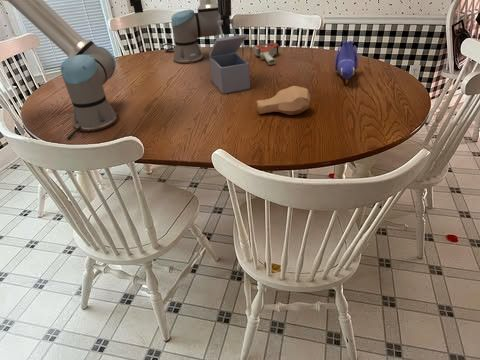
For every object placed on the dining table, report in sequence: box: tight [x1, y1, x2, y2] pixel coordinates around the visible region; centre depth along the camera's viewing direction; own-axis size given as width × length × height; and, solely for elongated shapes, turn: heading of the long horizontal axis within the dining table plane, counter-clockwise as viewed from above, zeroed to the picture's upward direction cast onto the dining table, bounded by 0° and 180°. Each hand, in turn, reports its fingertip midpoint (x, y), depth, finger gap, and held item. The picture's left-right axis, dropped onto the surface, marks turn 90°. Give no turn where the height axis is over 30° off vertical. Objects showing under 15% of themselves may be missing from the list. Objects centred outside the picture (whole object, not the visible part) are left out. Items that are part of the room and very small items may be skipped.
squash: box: [255, 85, 312, 116], centre depth 130 cm, size 11×20×9 cm, turn 92°
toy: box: [334, 40, 359, 85], centre depth 152 cm, size 10×17×25 cm
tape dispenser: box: [252, 42, 280, 66], centre depth 182 cm, size 18×5×20 cm
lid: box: [208, 18, 247, 57], centre depth 148 cm, size 17×12×9 cm
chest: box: [209, 52, 251, 95], centre depth 154 cm, size 17×12×11 cm
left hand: (136, 9), depth 122 cm, fingers open, 13 cm apart
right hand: (226, 33), depth 145 cm, fingers closed on lid, 2 cm apart
